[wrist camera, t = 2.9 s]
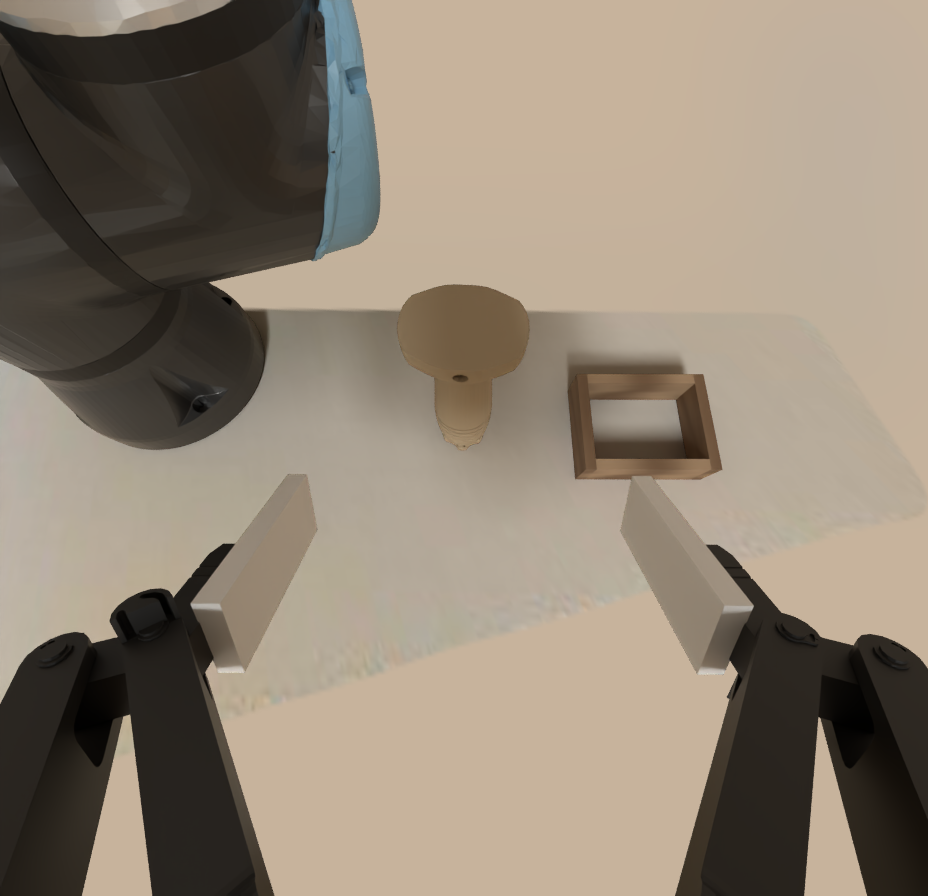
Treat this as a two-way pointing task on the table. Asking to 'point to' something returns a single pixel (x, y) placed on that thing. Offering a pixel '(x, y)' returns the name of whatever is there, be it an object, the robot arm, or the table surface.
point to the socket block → (645, 387)
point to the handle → (463, 351)
